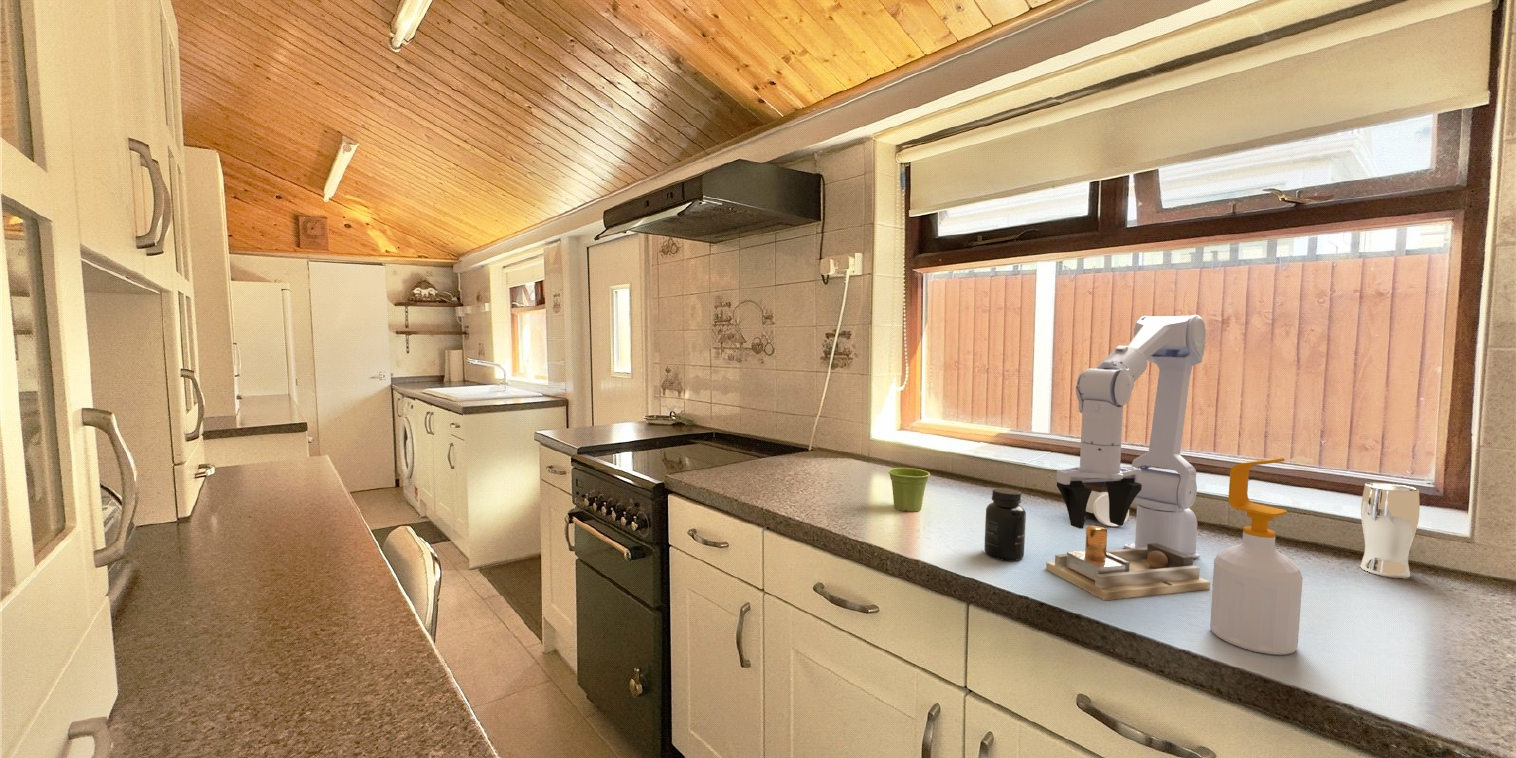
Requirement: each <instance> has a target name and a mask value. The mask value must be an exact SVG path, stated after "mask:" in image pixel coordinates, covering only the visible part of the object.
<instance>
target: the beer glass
mask: <svg viewBox="0 0 1516 758" xmlns="http://www.w3.org/2000/svg"><path fill="white" fill-rule="evenodd" d="M1360 504H1361V506H1360V517H1361V518H1360V519H1361V524H1362V525H1361V526H1362V532H1363V539H1364V552H1363V553H1364V554H1363V556H1362V560H1361V562H1360V566H1359V567H1361V568H1362V569H1361V568H1360V569H1361V570H1362V571H1364V570H1365V572H1367V571H1368V572H1367V573H1369V572H1370V574H1372V575H1376V576H1380V577H1385V578H1389V579H1390V578H1392V579H1398V578H1403V579H1404V580H1405V579H1410V577H1411V571H1410V566H1409V555H1410V554H1409V553H1410V549H1411V546H1412V543H1413V541H1414V538H1415V535H1416V533H1417V532H1416V531H1417V529H1418V525H1419V521H1420V520H1419V519H1420V508H1421V507H1420V490H1419V489H1418V488H1416V487H1413V486H1407V485H1402V484H1396V483H1391V482H1390V483H1388V482H1379V481H1377V482H1375V481H1374V482H1373V481H1370V482H1365V483H1364V487H1363V492H1362V498H1361V503H1360Z"/></svg>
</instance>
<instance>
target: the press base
mask: <svg viewBox="0 0 1516 758" xmlns="http://www.w3.org/2000/svg"><path fill="white" fill-rule="evenodd" d="M1106 552H1108V553H1110V554H1112V555H1115V556H1117V557H1119V558H1121V559H1124V560H1126V561H1128V562H1130V565H1129V572H1118V573H1108V574H1097V575H1096V576H1095V580H1093V579H1091V578H1089V577H1087V576H1085V575H1083V574H1081V573H1079V572H1077V571H1075V570H1073V569H1071V568H1069V567H1067V566H1066V561H1067V553H1060V554H1054V555H1055V556H1054V557H1055V558H1054V561H1047V562H1045V563H1046V564H1045V569H1046V570H1047V571H1049V572H1051V573H1053V574H1055V575H1057V576H1058V577H1061V579H1064V580H1066V581H1068V582H1069V581H1070V582H1069V583H1071V582H1072V583H1071V584H1073V585H1075V586H1077V587H1079V588H1081V589H1082V588H1083V589H1082V590H1084V591H1086V592H1088V593H1090V594H1092V595H1094V596H1096V597H1097V596H1098V598H1099V599H1101V600H1103V601H1110V600H1111V601H1112V600H1120V599H1128V598H1131V599H1132V598H1138V597H1148V596H1157V595H1165V594H1166V595H1167V594H1176V593H1185V592H1193V591H1194V592H1195V591H1204V590H1210V589H1211V581H1209V580H1207V579H1205V578H1202V577H1200V569H1201V568H1200V567H1199V566H1196V565H1194V558H1193V557H1192V556H1189V555H1187V554H1184V553H1181V552H1179V551H1176V550H1174V549H1171V548H1168V547H1166V546H1163V545H1160V544H1158V543H1151V544H1148V545H1147V547H1141V548H1130V549H1128V548H1120V549H1118V548H1117V549H1109V550H1108V549H1106Z"/></svg>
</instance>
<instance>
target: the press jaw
mask: <svg viewBox="0 0 1516 758" xmlns="http://www.w3.org/2000/svg"><path fill="white" fill-rule="evenodd" d="M1085 528H1086V529H1085V544H1084V545H1085V548H1084V549H1085V550H1077V551H1067V552H1066V554H1067V561H1066V566H1067V567H1069V568H1071V569H1073V570H1075V571H1077V572H1079V573H1081V574H1083V575H1085V576H1087V577H1089V578H1091V579H1093V580H1095V576H1096V575H1097V574H1108V573H1118V572H1129V565H1130V562H1128V561H1126V560H1124V559H1121V558H1119V557H1117V556H1115V555H1112V554H1110V553H1108V552H1106V550H1107V540H1108V528H1106V527H1103V526H1099V525H1086V527H1085Z"/></svg>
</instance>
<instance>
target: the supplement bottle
mask: <svg viewBox="0 0 1516 758" xmlns="http://www.w3.org/2000/svg"><path fill="white" fill-rule="evenodd" d="M1021 493H1022V492H1020V491H1019V490H1016V489H1012V488H1004V487H1000V488H998V487H997V488H993V489H992V493H991V494H992V495H991V501H993V502H991V503H989V504H988V505H987V506H986V508H985V520H984V521H985V524H984V526H985V527H984V546H983V547H984V548H983V549H984V553H985V554H986V556H988V557H990V558H993V559H996V560H1000V561H1004V562H1005V561H1006V562H1007V561H1008V562H1017V561H1020V560H1022V559H1023V558H1024V556H1025V544H1026V543H1025V542H1026V540H1025V539H1026V520H1027V519H1026V518H1027V517H1026V516H1027V512H1026V510H1025V508H1024V507H1023V506H1022V505H1020V504H1021V503H1022V499H1021V498H1022V497H1021V496H1022V494H1021Z"/></svg>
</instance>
